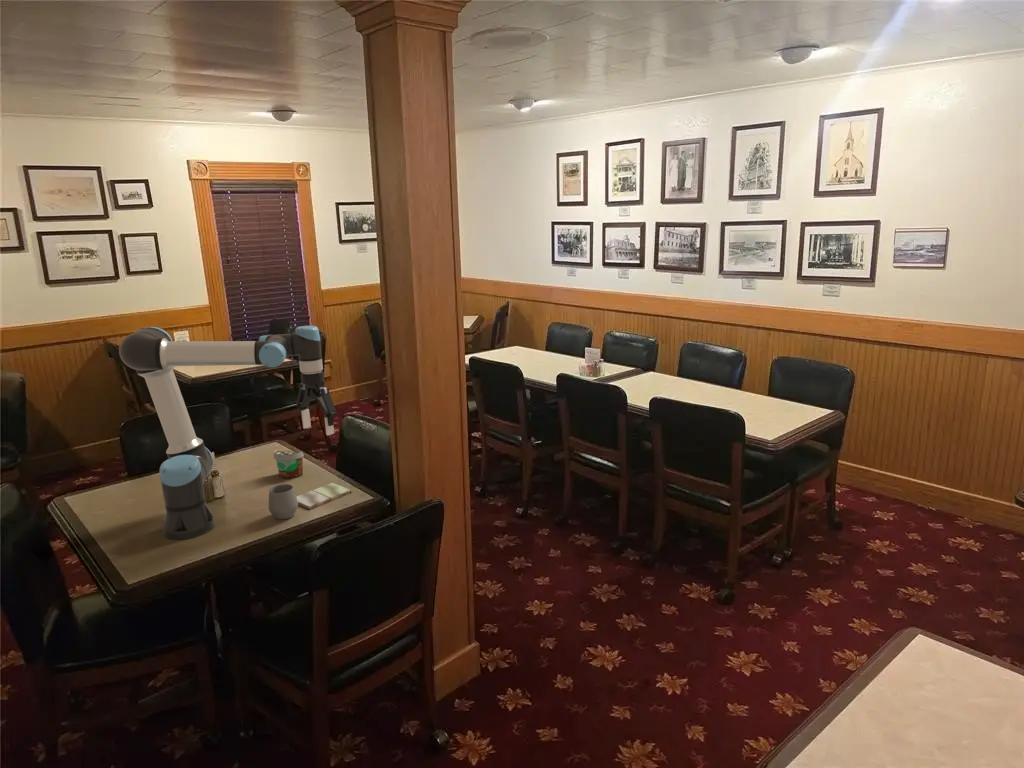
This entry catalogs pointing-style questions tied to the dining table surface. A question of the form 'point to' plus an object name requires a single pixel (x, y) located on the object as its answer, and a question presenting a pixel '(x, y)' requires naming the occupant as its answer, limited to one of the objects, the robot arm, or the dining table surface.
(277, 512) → the cup
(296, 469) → the food container
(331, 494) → the green and white board
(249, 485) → the dining table surface
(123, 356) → the robot arm
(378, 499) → the dining table surface
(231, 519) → the dining table surface
